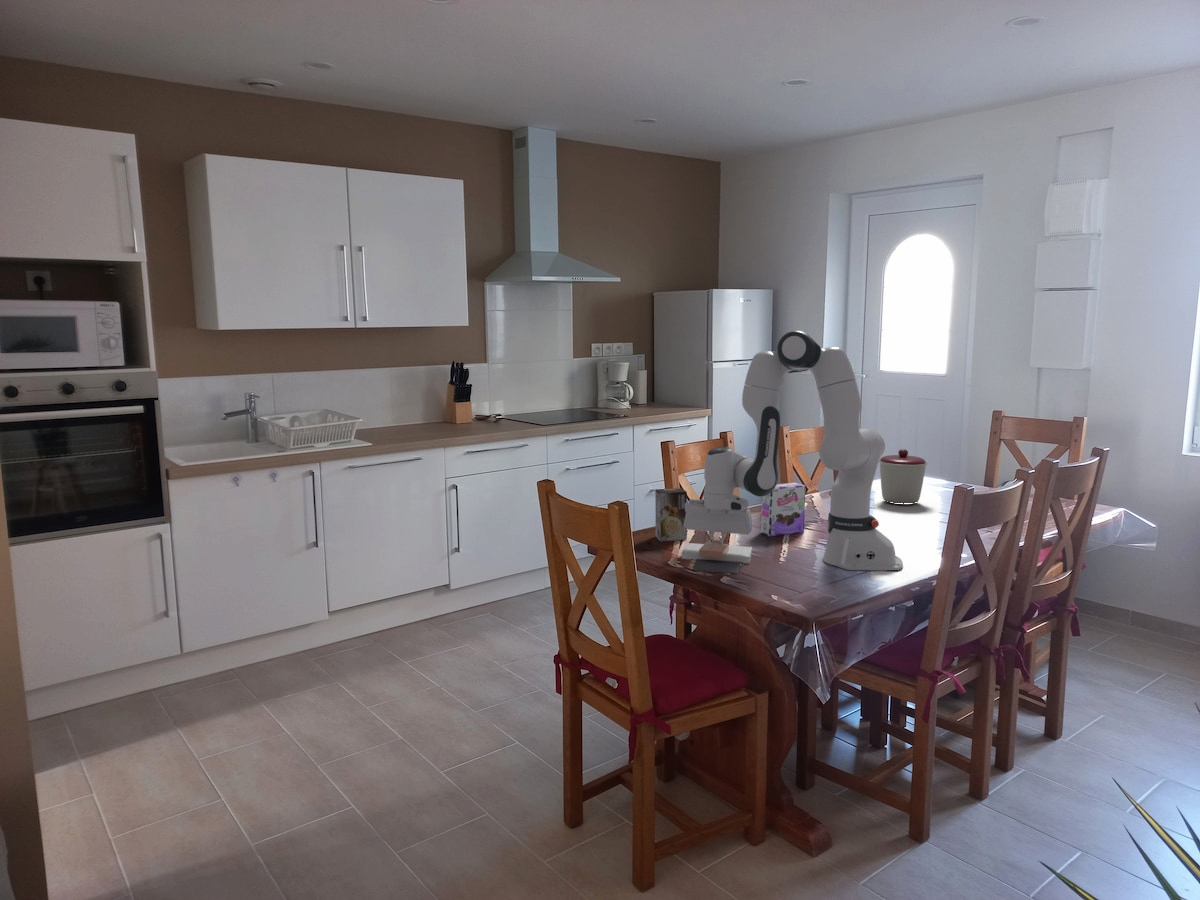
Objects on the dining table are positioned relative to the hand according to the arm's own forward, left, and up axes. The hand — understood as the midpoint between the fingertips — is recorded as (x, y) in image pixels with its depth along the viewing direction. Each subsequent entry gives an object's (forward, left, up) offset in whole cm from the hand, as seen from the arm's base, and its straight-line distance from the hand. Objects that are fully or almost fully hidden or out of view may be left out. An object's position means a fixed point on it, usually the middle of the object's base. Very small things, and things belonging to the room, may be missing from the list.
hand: (717, 545), depth 259 cm
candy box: (-18, -33, -3) cm, 37 cm away
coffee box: (+17, -17, -3) cm, 24 cm away
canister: (-61, -92, -3) cm, 110 cm away
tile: (0, +5, -1) cm, 5 cm away
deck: (0, +1, -3) cm, 3 cm away
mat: (-1, +12, -3) cm, 13 cm away
